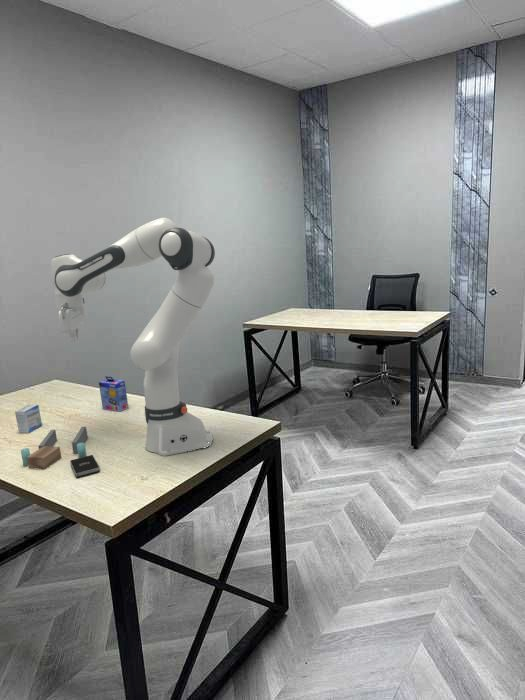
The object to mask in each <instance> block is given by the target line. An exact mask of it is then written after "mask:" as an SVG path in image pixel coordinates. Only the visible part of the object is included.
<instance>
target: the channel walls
mask: <svg viewBox="0 0 525 700" xmlns="http://www.w3.org/2000/svg"><path fill="white" fill-rule="evenodd" d="M57 436H58V435H57V430H56V429H50V431H49V432H48V433H47V434H46V435H45V437H44V438H43V440H42V441H41V442H40V443H39V445H38V446H37V447H38V450H39V449H40V448H42V447H43V446H49V447H54V445H55V444H56V442H57V441H58V437H57ZM87 439H88V431H87V426H81V427H80V429H79V430H78V432H77V434H76V435H75V437H74V439H73V440H72V442H71V445H72V446H71V447H72V448H71V449H72V452H73V453H72V454H73V455H78V450H77V444H78V443H85V442H86V441H87Z"/></svg>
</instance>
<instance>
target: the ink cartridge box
mask: <svg viewBox="0 0 525 700" xmlns="http://www.w3.org/2000/svg"><path fill="white" fill-rule="evenodd" d="M104 377H105V379H102V380H100V381H98V387H99V393H100V399H101V406H102V410H105V411H112V412H119V413H120V412H122V411H124V410H126V409H129V403H128V395H127V389H126V388H127V387H126V383H125V382H126V381H125V380H124V379H114V378H113V377H112V376H104Z"/></svg>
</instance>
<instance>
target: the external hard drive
mask: <svg viewBox="0 0 525 700" xmlns="http://www.w3.org/2000/svg"><path fill="white" fill-rule="evenodd" d="M69 464H70V467H71V469H72V472H73V475H74V476H75V478H76V479H80V477H81V478H83V477H87V476H90V475H94V474H98V473H100V471H101V468H100V465H99V463H98V461H97V460H96V458H95V456H94V455H93V454H91V455H90V454H89V455H86V456H85V457H81V458H79V457H77V458H75V459H71V460H70V461H69Z"/></svg>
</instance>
